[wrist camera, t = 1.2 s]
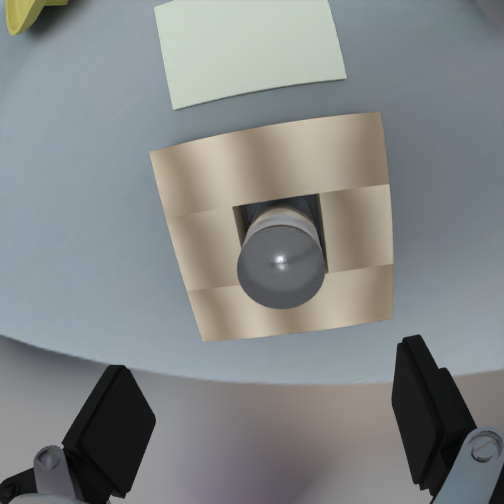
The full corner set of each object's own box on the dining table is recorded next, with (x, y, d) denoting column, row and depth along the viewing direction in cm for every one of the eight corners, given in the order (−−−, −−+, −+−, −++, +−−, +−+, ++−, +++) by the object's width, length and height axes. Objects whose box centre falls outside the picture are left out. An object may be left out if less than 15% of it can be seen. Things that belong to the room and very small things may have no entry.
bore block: (363, 113, 23) (380, 111, 19) (378, 289, 29) (392, 318, 24) (172, 146, 26) (149, 152, 21) (214, 310, 32) (203, 341, 27)
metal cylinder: (308, 187, 26) (320, 222, 17) (316, 243, 28) (328, 303, 19) (248, 196, 27) (228, 236, 18) (259, 251, 29) (246, 313, 19)
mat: (318, -24, 19) (319, -28, 18) (344, 79, 22) (346, 78, 22) (157, 10, 21) (154, 7, 20) (176, 110, 25) (173, 110, 24)
